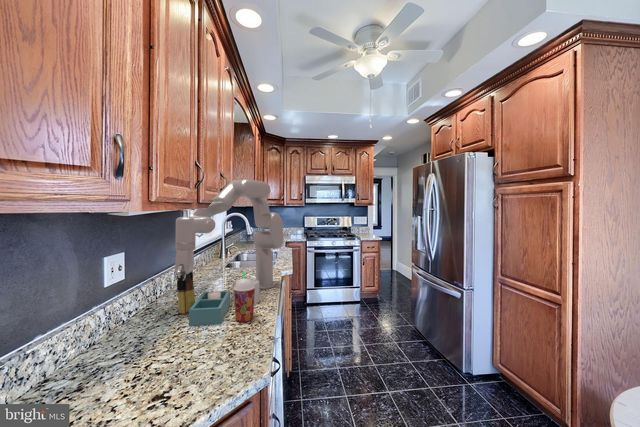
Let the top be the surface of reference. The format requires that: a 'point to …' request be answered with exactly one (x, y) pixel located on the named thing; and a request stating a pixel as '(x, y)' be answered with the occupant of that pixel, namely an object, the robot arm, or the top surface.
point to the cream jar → (214, 295)
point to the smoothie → (244, 299)
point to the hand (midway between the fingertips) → (185, 286)
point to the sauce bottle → (186, 296)
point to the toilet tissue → (256, 284)
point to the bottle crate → (209, 309)
